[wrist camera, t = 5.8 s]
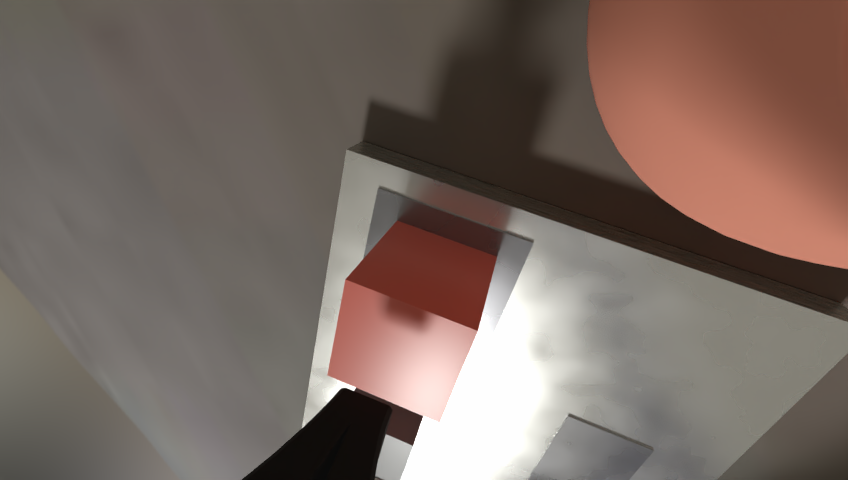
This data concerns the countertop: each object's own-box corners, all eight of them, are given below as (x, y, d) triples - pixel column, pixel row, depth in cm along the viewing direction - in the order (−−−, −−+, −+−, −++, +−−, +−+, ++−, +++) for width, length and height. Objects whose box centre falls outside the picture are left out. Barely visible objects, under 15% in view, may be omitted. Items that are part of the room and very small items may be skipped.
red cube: (497, 256, 15) (477, 331, 11) (465, 336, 17) (439, 423, 13) (396, 220, 16) (345, 279, 12) (377, 301, 18) (327, 375, 14)
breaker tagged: (437, 380, 18) (413, 448, 15) (416, 435, 20) (391, 506, 17) (373, 353, 19) (338, 415, 16) (359, 410, 21) (325, 475, 18)
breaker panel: (842, 303, 14) (884, 342, 12) (560, 600, 26) (561, 642, 24) (363, 141, 16) (339, 153, 15) (302, 479, 28) (285, 510, 26)
